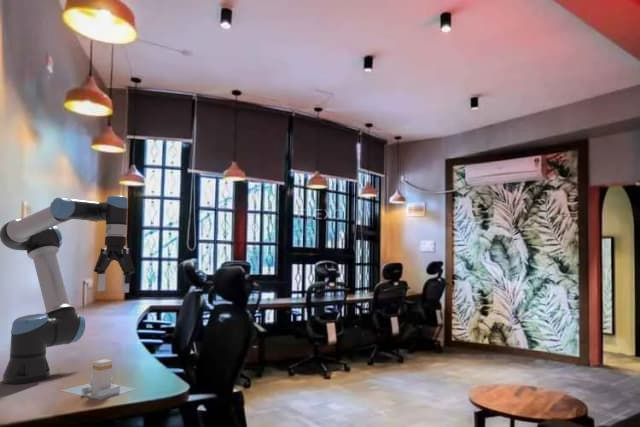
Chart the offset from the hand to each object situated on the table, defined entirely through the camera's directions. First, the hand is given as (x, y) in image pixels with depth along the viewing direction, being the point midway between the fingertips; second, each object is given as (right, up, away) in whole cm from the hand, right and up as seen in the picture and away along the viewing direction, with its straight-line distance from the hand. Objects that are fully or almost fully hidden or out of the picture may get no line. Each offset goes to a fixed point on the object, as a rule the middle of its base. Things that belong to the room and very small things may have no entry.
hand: (113, 291), depth 179 cm
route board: (+4, -31, -20) cm, 37 cm away
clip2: (+5, -30, -17) cm, 35 cm away
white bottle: (+7, -29, -25) cm, 39 cm away
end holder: (+7, -30, -25) cm, 39 cm away
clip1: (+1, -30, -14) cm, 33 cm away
